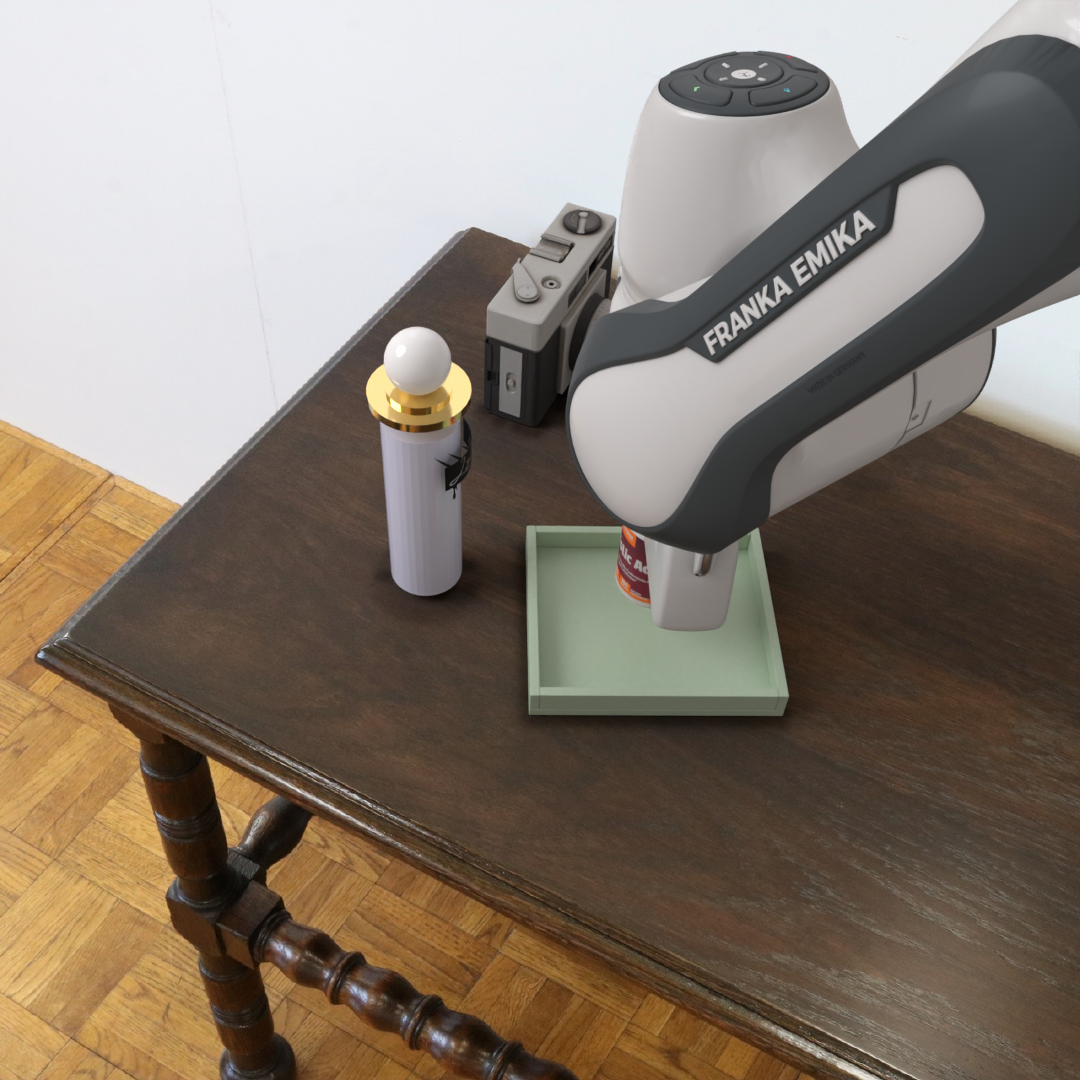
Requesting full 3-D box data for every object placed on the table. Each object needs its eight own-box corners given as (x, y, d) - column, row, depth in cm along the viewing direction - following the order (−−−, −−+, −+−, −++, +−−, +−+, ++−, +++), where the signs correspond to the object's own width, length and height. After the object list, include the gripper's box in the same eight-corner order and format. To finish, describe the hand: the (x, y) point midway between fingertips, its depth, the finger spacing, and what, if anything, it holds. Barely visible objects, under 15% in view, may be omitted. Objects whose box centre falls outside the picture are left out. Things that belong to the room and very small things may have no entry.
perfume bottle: (371, 601, 80) (347, 360, 65) (396, 535, 84) (379, 292, 68) (459, 618, 79) (456, 379, 64) (480, 550, 83) (482, 309, 68)
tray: (753, 548, 84) (758, 527, 82) (782, 716, 75) (789, 696, 74) (525, 546, 83) (526, 525, 82) (528, 715, 75) (530, 695, 73)
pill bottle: (598, 579, 76) (610, 482, 69) (651, 538, 78) (667, 441, 72) (657, 625, 74) (675, 530, 67) (710, 582, 76) (732, 486, 69)
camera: (583, 447, 90) (593, 337, 82) (479, 410, 92) (480, 301, 84) (653, 333, 98) (668, 225, 91) (557, 302, 100) (564, 194, 93)
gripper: (785, 525, 56) (736, 698, 67) (729, 248, 70) (695, 429, 80) (645, 523, 56) (617, 697, 67) (616, 246, 70) (597, 427, 80)
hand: (660, 548), depth 74 cm, fingers closed on pill bottle, 5 cm apart
